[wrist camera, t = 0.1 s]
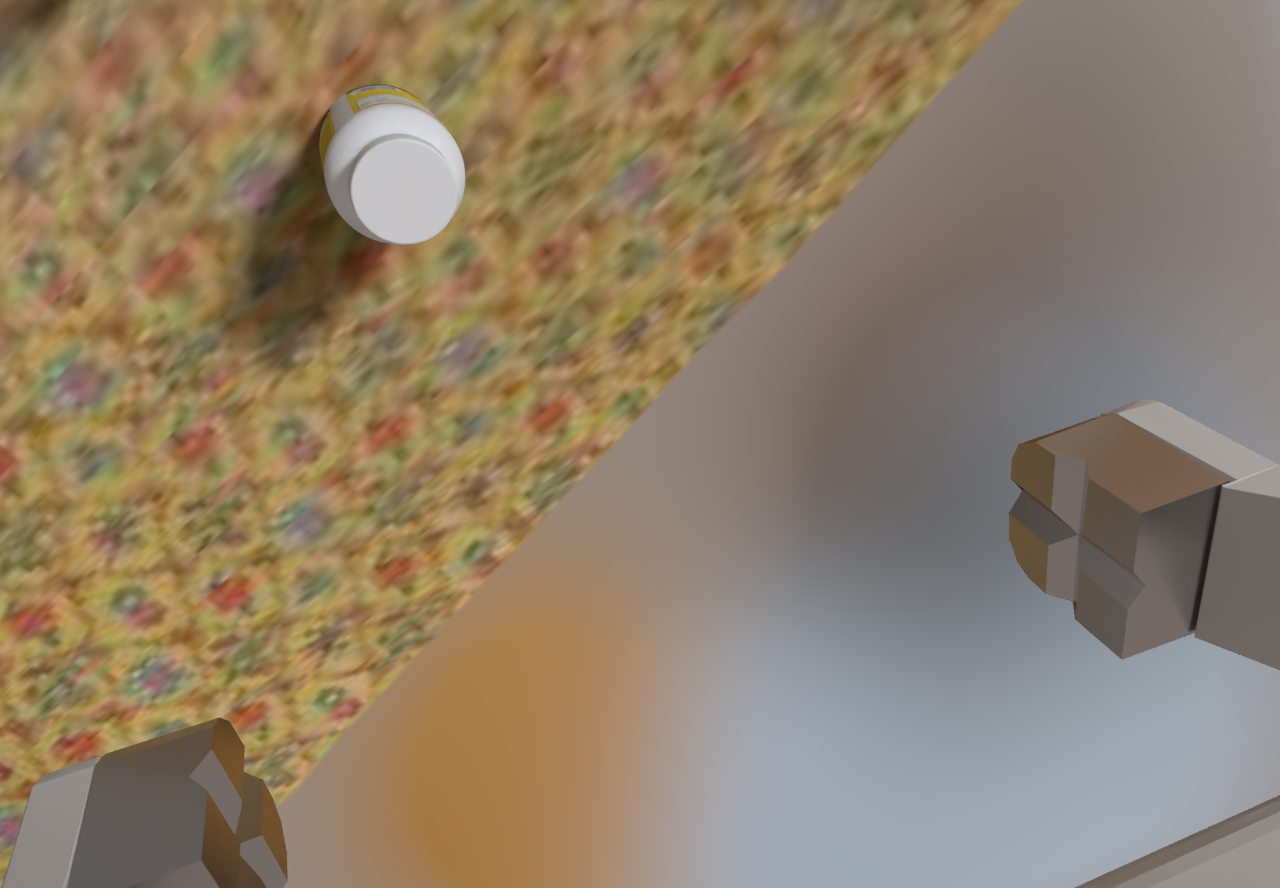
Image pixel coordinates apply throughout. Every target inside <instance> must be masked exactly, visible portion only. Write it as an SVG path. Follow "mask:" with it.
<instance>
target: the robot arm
mask: <svg viewBox="0 0 1280 888" xmlns="http://www.w3.org/2000/svg"><path fill="white" fill-rule="evenodd" d="M1011 479H1012V481H1013V482H1014V483H1015V484H1016V485H1017V486H1018V487H1019V488H1020V489H1021V490H1022V492H1021V494H1020V496H1019V497H1018V499H1017V501H1016V502H1015V504H1014V506H1013V507H1012V509H1011V510H1010V512H1009V540H1010V543H1011V545H1012V548H1013V551H1014V553H1015V556H1016V559H1017V562H1018V563H1019V565H1020V566H1021V568H1022V569H1023V571H1024V572H1025V573H1026V575H1027V576H1028V578H1029V579H1030V580H1031V581H1033V582H1034V583H1035V584H1036V585H1037V586H1038V587H1039V588H1040V589H1041V590H1042V591H1043V592H1044V593H1046V594H1049V595H1053V596H1056V597H1060V598H1063V599H1066V600H1070V601H1073V606H1074V615H1075V620H1076V621H1078V622H1079V623H1080V624H1081V625H1082V626H1083V627H1085V628H1086V629H1087V630H1088V631H1089V632H1090V633H1092V634H1093V635H1094V636H1095V637H1096V638H1098V639H1099V640H1100V641H1101V642H1102V643H1103V644H1104V645H1105V646H1107V647H1108V648H1109V649H1110V650H1111V651H1112V652H1114V653H1115V654H1116V655H1117V656H1118V657H1119V658H1121V659H1125V658H1127V657H1130V656H1133V655H1135V654H1138V653H1141V652H1144V651H1146V650H1149V649H1152V648H1155V647H1157V646H1160V645H1163V644H1166V643H1168V642H1171V641H1174V640H1176V639H1179V638H1182V637H1185V636H1187V635H1190V634H1193V633H1195V637H1196V638H1198V639H1201V640H1203V641H1206V642H1209V643H1211V644H1214V645H1216V646H1219V647H1221V648H1224V649H1226V650H1229V651H1232V652H1234V653H1237V654H1239V655H1242V656H1245V657H1247V658H1250V659H1252V660H1255V661H1258V662H1260V663H1263V664H1265V665H1268V666H1270V667H1273V668H1276V669H1278V670H1280V465H1277V464H1275V463H1273V462H1272V461H1270V460H1268V459H1266V458H1264V457H1262V456H1260V455H1258V454H1257V453H1255V452H1253V451H1251V450H1249V449H1247V448H1245V447H1243V446H1242V445H1240V444H1238V443H1236V442H1234V441H1232V440H1230V439H1228V438H1227V437H1225V436H1223V435H1221V434H1219V433H1217V432H1215V431H1213V430H1212V429H1210V428H1208V427H1206V426H1204V425H1202V424H1200V423H1198V422H1197V421H1195V420H1193V419H1191V418H1189V417H1187V416H1185V415H1183V414H1182V413H1180V412H1178V411H1176V410H1174V409H1172V408H1170V407H1169V406H1167V405H1165V404H1163V403H1161V402H1159V401H1153V400H1145V399H1141V400H1138V401H1135V402H1133V403H1130V404H1127V405H1124V406H1122V407H1119V408H1117V409H1114V410H1111V411H1109V412H1106V413H1103V414H1101V415H1100V416H1099V417H1096V418H1092V419H1090V420H1087V421H1084V422H1081V423H1078V424H1075V425H1073V426H1070V427H1067V428H1064V429H1061V430H1058V431H1055V432H1053V433H1050V434H1047V435H1044V436H1041V437H1038V438H1036V439H1032V440H1030V441H1027V442H1024V443H1021V444H1019V445H1018V446H1017V449H1016V451H1015V453H1014V455H1013V457H1012V463H1011ZM244 747H245V746H244V745H243V743H242V741H241V740H240V738H239V736H238V735H237V733H236V731H235V730H234V728H233V726H232V725H231V723H230V721H227V720H225V719H222V718H216V719H213V720H210V721H207V722H204V723H201V724H198V725H195V726H191V727H188V728H185V729H182V730H179V731H176V732H173V733H170V734H166V735H163V736H160V737H157V738H154V739H151V740H148V741H145V742H141V743H138V744H135V745H132V746H129V747H126V748H123V749H120V750H116V751H113V752H110V753H107V754H105V755H104V756H103V757H97V758H94V759H91V760H88V761H85V762H82V763H78V764H75V765H72V766H69V767H66V768H63V769H60V770H57V771H54V772H51V773H48V774H45V775H44V776H43V777H42V778H41V779H40V780H39V781H38V782H37V783H36V784H35V785H34V786H33V787H32V789H31V792H30V795H29V798H28V802H27V805H26V808H25V812H24V815H23V818H22V822H21V825H20V828H19V832H18V835H17V838H16V842H15V845H14V848H13V852H12V855H11V858H10V862H9V865H8V868H7V872H6V875H5V878H4V882H3V885H2V888H283V887H284V886H285V884H286V882H287V881H288V877H287V851H286V845H285V840H284V835H283V829H282V824H281V820H280V817H279V815H278V812H277V809H276V806H275V803H274V801H273V798H272V796H271V794H270V792H269V790H268V789H267V787H266V785H265V783H264V781H263V780H262V779H260V778H257V777H255V776H252V775H250V774H247V773H245V772H244ZM1075 888H1280V795H1279V796H1277V797H1275V798H1272V799H1270V800H1268V801H1266V802H1263V803H1261V804H1259V805H1257V806H1255V807H1252V808H1250V809H1248V810H1246V811H1244V812H1241V813H1239V814H1237V815H1235V816H1232V817H1230V818H1228V819H1226V820H1224V821H1221V822H1219V823H1217V824H1215V825H1212V826H1211V827H1208V828H1206V829H1204V830H1201V831H1199V832H1197V833H1195V834H1193V835H1190V836H1188V837H1186V838H1184V839H1182V840H1179V841H1177V842H1175V843H1173V844H1170V845H1168V846H1166V847H1164V848H1161V849H1159V850H1157V851H1155V852H1153V853H1150V854H1148V855H1146V856H1144V857H1142V858H1139V859H1137V860H1135V861H1133V862H1131V863H1128V864H1126V865H1124V866H1122V867H1119V868H1117V869H1115V870H1113V871H1111V872H1108V873H1106V874H1104V875H1102V876H1100V877H1097V878H1095V879H1093V880H1091V881H1088V882H1086V883H1084V884H1082V885H1079V886H1077V887H1075Z"/></svg>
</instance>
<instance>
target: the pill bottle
mask: <svg viewBox="0 0 1280 888" xmlns="http://www.w3.org/2000/svg"><path fill="white" fill-rule="evenodd" d="M319 151H320V156H321V162H322V168H323V173H324V178H325V183H326V187H327V191H328V194H329V197H330V199H331V201H332V203H333V205H334V207H335V209H336V210H337V212H338V213H339V214H340V216H341V217H342V218H343V219H344V220H345V221H346V222H347V223H348V224H349V225H350V226H351V227H352V228H353V229H355V230H356V231H358V232H359V233H361V234H362V235H364V236H366V237H368V238H371V239H373V240H376V241H379V242H383V243H388V244H403V245H404V244H416V243H421V242H424V241H426V240H428V239H430V238H432V237H434V236H436V235H437V234H438V233H440V232H441V231H442V230H443V229H444V228H445V227H446V225H447V224H448V223H449V221H450V220H451V219H452V217H453V216H454V214H455V213H456V211H457V209H458V207H459V205H460V203H461V200H462V197H463V193H464V188H465V168H464V162H463V159H462V155H461V153H460V150H459V148H458V146H457V144H456V142H455V140H454V139H453V137H452V136H451V134H450V133H449V132H448V130H447V129H446V128H445V127H444V126H443V125H442V123H441V122H440V121H439V120H438V119H437V118H436V117H435V116H434V114H433V113H432V112H431V111H430V110H429V109H428V108H427V107H426V105H425V104H424V103H422V102H421V101H420V100H419V99H418V98H417V97H415V96H414V95H412V94H410V93H409V92H407V91H405V90H402V89H400V88H397V87H394V86H389V85H381V84H374V85H365V86H361V87H358V88H355V89H353V90H351V91H349V92H347V93H345V94H344V95H343V96H341V97H340V98H339V99H338V100H337V101H336V102H335V103H334V104H333V105H332V106H331V107H330V109H329V110H328V112H327V113H326V115H325V118H324V120H323V123H322V126H321V130H320V136H319Z"/></svg>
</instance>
